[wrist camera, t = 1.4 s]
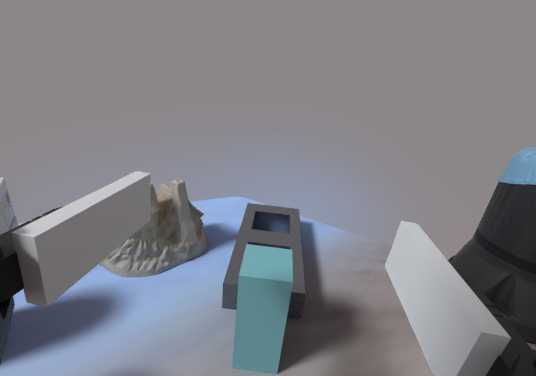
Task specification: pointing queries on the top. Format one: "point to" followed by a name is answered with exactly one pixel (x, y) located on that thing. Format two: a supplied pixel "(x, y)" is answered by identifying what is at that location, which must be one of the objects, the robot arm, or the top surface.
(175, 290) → the top surface
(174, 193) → the ceramic cottage
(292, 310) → the grey block with holes
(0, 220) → the light bulb box
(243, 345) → the teal peg
